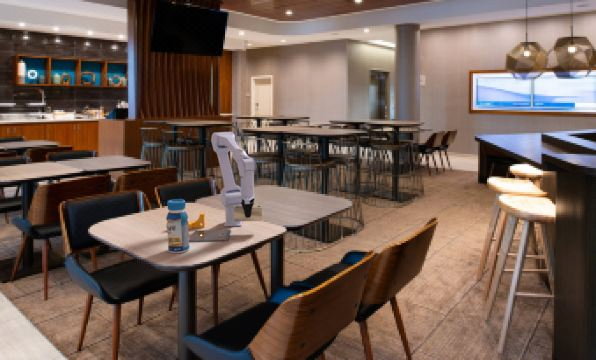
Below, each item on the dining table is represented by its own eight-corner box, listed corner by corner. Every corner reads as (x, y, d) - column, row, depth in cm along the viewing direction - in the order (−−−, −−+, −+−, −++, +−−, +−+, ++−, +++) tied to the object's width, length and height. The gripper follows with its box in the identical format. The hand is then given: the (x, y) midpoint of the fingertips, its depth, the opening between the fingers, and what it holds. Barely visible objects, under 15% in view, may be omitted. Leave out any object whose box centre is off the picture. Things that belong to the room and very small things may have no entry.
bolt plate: (195, 231, 199) (195, 230, 199) (231, 231, 200) (231, 229, 200) (189, 241, 185) (189, 240, 185) (227, 241, 186) (227, 239, 186)
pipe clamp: (177, 229, 203) (176, 216, 202) (178, 227, 207) (178, 213, 206) (204, 229, 204) (203, 215, 203) (205, 226, 208) (204, 212, 207)
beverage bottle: (193, 251, 175) (190, 201, 171) (172, 255, 170) (169, 204, 166) (185, 245, 181) (182, 197, 178) (164, 249, 177) (161, 200, 173)
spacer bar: (235, 219, 199) (234, 205, 198) (261, 218, 200) (261, 204, 198) (234, 221, 195) (234, 207, 194) (261, 220, 196) (261, 206, 195)
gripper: (239, 182, 201) (240, 211, 204) (237, 189, 187) (238, 220, 190) (254, 182, 202) (255, 211, 204) (254, 189, 187) (254, 220, 190)
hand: (248, 216), depth 197 cm, fingers closed on spacer bar, 4 cm apart
